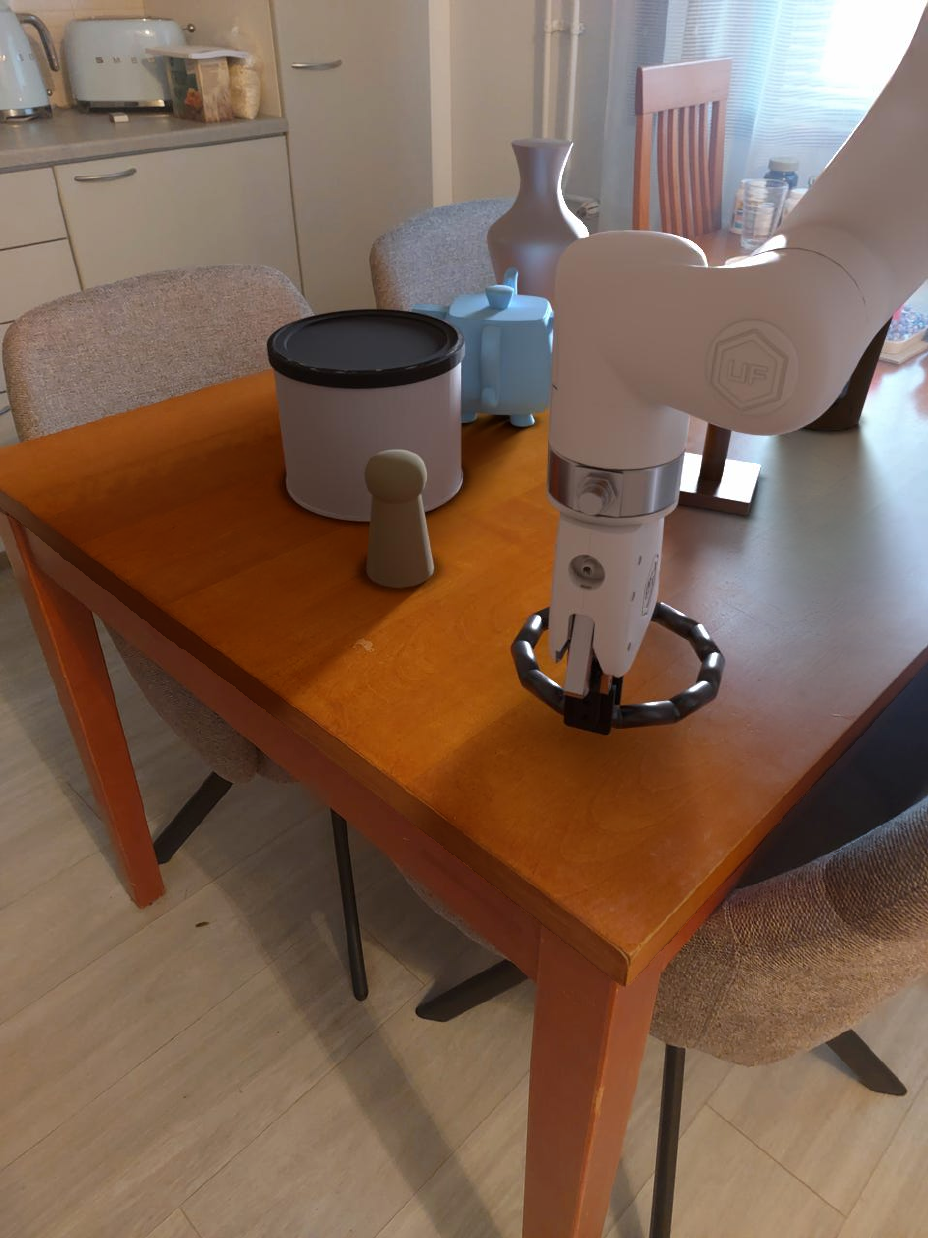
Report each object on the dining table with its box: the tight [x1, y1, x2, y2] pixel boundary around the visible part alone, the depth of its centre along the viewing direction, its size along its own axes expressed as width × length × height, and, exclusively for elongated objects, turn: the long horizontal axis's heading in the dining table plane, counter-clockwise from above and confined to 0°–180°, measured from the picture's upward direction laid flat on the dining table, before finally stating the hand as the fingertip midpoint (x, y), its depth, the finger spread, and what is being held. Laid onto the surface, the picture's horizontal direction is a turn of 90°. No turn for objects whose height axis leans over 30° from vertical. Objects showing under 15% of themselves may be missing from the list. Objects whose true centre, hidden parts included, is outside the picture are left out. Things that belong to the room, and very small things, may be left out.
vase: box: [486, 137, 590, 311], centre depth 127 cm, size 14×14×25 cm
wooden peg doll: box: [364, 449, 435, 589], centre depth 77 cm, size 6×6×11 cm
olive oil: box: [803, 315, 894, 431], centre depth 100 cm, size 11×11×25 cm
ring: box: [510, 601, 726, 730], centre depth 66 cm, size 15×15×2 cm
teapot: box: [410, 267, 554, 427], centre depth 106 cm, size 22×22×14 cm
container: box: [266, 308, 465, 522], centre depth 90 cm, size 19×19×15 cm
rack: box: [677, 422, 762, 517], centre depth 89 cm, size 9×9×12 cm
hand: (591, 715), depth 61 cm, fingers closed on ring, 1 cm apart
